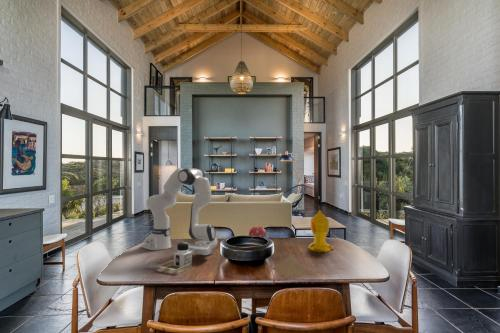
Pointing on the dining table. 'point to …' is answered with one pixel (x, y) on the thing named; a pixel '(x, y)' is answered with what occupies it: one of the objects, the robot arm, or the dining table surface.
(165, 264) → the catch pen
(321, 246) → the yellow statue
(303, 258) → the dining table surface
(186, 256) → the container
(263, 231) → the decorative mushroom
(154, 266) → the slate tile
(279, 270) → the model pyramid
